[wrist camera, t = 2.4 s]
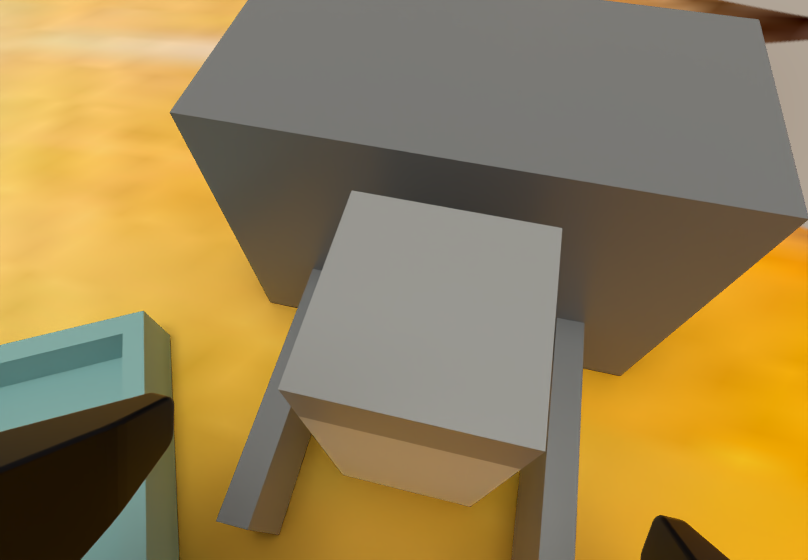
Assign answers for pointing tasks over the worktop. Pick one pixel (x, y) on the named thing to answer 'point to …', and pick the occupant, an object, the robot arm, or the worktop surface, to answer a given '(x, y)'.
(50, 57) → the worktop surface
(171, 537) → the teal tray
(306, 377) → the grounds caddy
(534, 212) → the coffee machine bay
